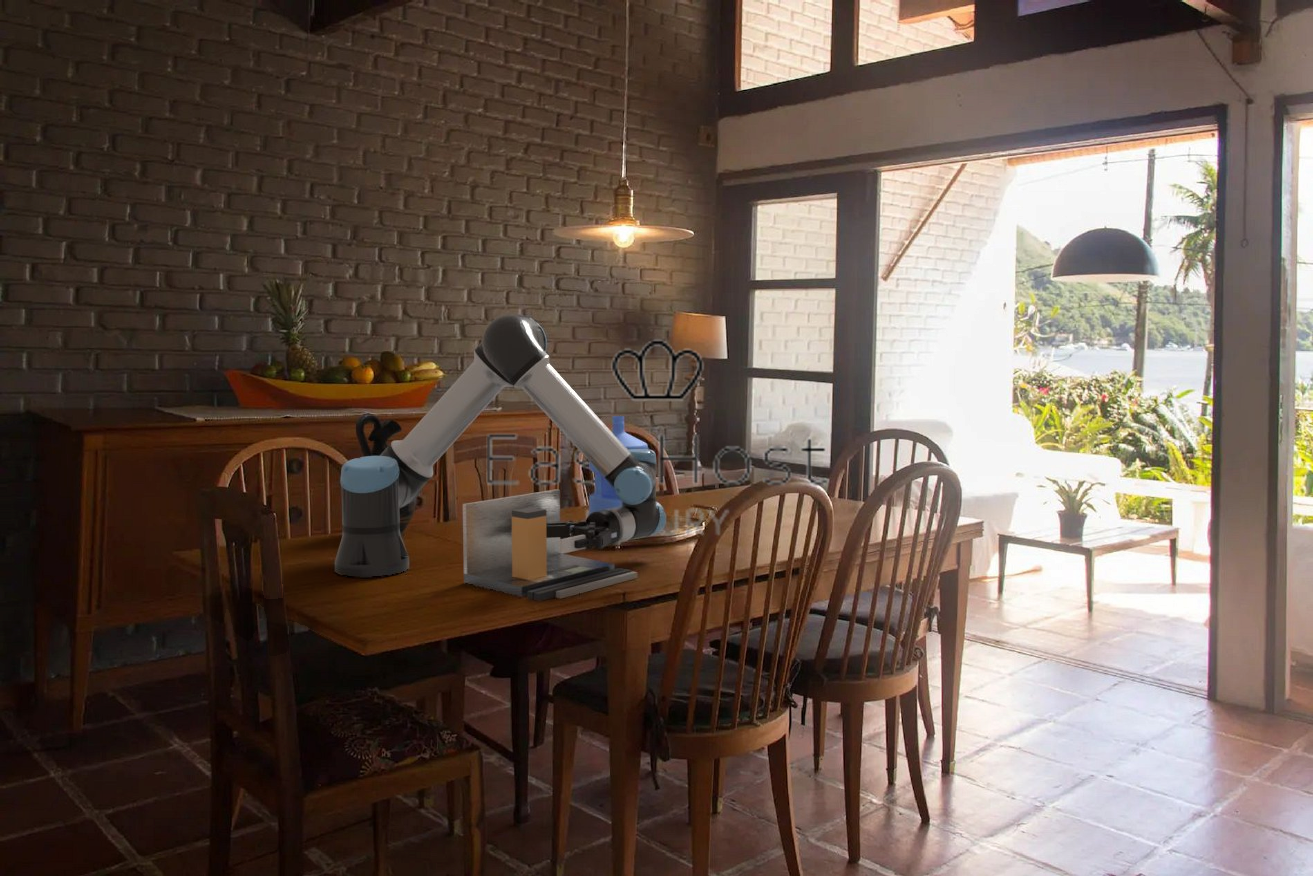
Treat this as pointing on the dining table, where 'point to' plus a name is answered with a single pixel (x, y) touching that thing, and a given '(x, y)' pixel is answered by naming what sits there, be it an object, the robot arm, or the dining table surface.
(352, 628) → the dining table surface
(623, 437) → the water jug
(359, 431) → the ceramic jug
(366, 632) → the dining table surface
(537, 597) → the long grooved rail
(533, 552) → the lever
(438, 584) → the dining table surface
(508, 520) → the l-shaped metal bracket
